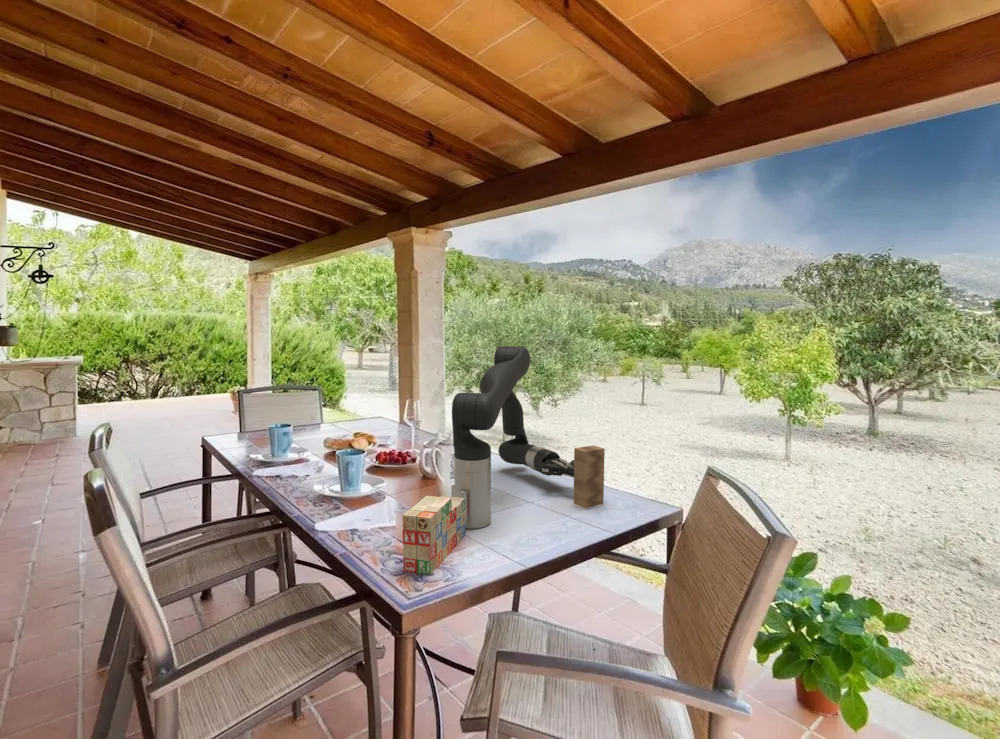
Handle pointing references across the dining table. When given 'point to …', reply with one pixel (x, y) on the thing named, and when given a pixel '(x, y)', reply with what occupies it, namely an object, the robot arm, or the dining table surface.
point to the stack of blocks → (432, 532)
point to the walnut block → (588, 476)
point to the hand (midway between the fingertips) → (578, 474)
